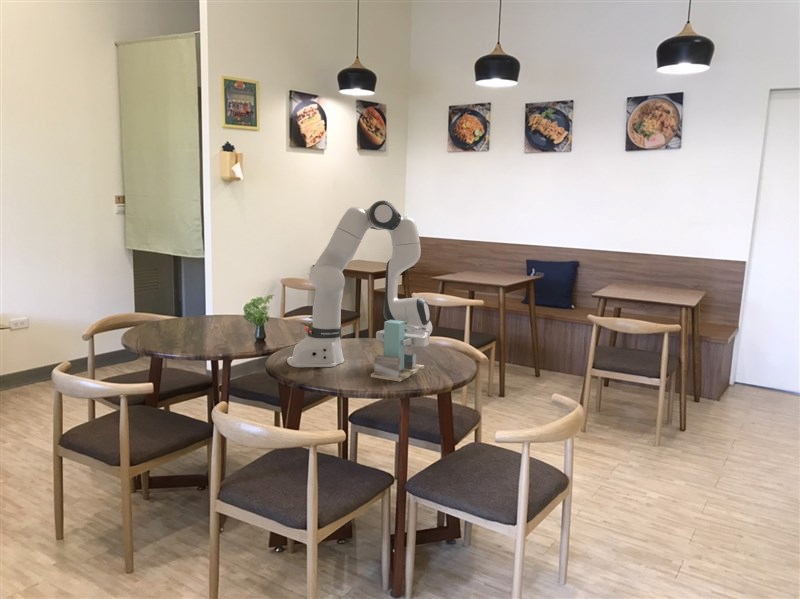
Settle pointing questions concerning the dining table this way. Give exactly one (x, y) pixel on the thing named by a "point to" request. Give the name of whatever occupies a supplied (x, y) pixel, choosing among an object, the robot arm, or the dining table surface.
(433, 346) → the dining table surface
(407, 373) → the vise base
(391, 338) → the teal block
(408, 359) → the block
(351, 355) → the dining table surface
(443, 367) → the dining table surface
